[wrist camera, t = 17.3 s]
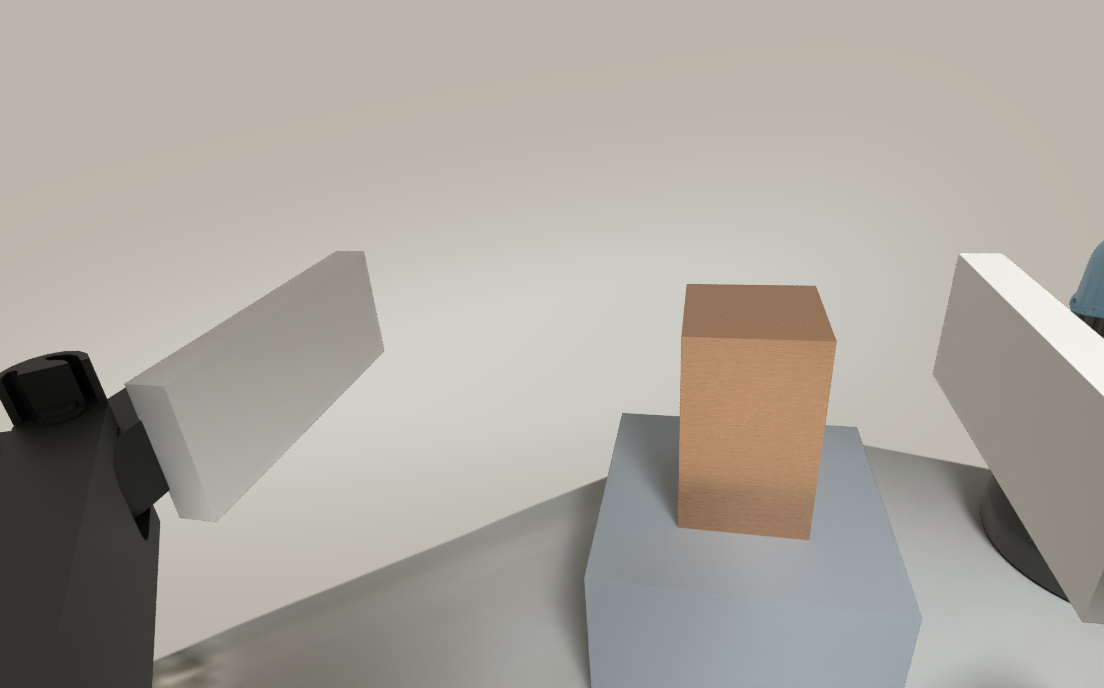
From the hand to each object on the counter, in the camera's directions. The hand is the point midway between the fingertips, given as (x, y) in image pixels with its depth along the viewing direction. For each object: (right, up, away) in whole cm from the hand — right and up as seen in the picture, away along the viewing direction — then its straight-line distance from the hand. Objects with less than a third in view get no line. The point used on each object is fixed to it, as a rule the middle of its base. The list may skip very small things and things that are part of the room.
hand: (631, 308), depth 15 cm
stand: (+10, -19, +29) cm, 36 cm away
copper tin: (+9, -10, +24) cm, 28 cm away
